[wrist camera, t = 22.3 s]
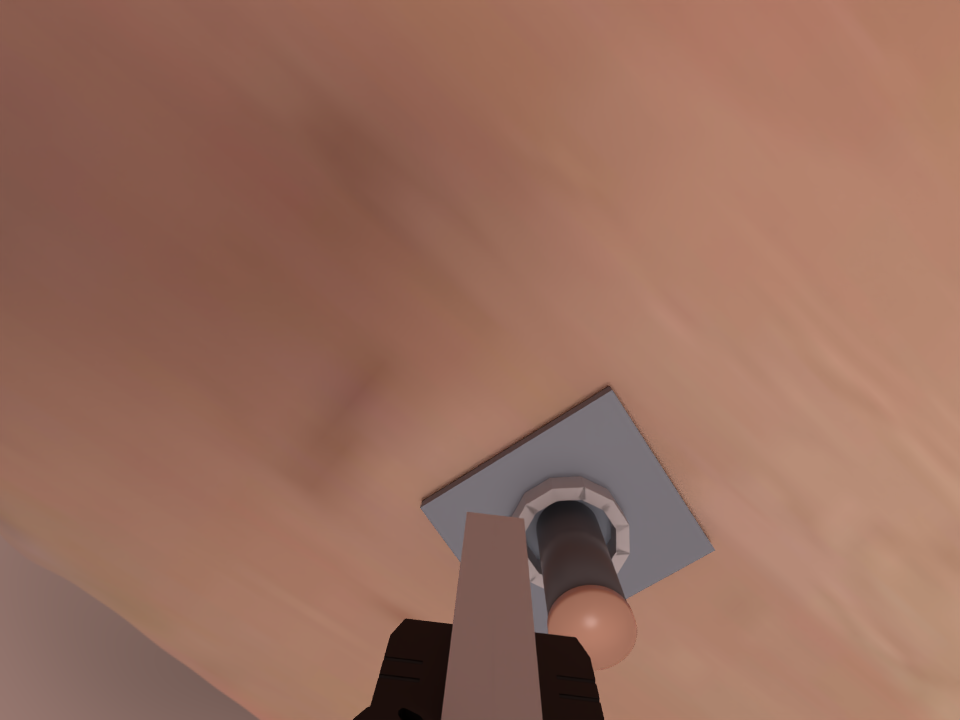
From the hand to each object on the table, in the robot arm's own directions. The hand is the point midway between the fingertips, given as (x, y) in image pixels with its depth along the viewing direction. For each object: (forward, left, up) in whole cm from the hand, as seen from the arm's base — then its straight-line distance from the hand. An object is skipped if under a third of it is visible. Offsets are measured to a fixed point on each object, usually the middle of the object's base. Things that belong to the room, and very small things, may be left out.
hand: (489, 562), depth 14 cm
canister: (-3, -15, -27) cm, 31 cm away
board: (-3, -15, -28) cm, 32 cm away
